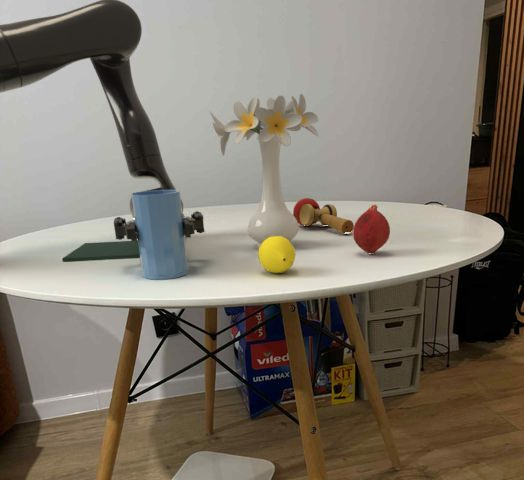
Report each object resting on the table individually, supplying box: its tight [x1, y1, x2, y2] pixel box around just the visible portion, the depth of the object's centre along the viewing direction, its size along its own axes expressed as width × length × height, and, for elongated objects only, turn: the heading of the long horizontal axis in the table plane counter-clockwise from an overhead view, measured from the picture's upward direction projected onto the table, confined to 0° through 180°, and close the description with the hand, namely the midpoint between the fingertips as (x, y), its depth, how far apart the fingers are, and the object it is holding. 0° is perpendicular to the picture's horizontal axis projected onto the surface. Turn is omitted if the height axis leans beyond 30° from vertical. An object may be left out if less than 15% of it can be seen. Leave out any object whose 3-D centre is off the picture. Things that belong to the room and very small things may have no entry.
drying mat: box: [62, 239, 140, 262], centre depth 95 cm, size 18×14×1 cm
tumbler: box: [130, 189, 189, 281], centre depth 74 cm, size 7×7×12 cm
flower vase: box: [209, 93, 319, 249], centre depth 87 cm, size 13×18×25 cm
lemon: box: [257, 236, 296, 274], centre depth 73 cm, size 7×5×5 cm
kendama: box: [292, 197, 355, 234], centre depth 106 cm, size 8×6×18 cm
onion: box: [352, 203, 391, 254], centre depth 81 cm, size 6×6×8 cm
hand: (160, 232), depth 72 cm, fingers open, 7 cm apart
